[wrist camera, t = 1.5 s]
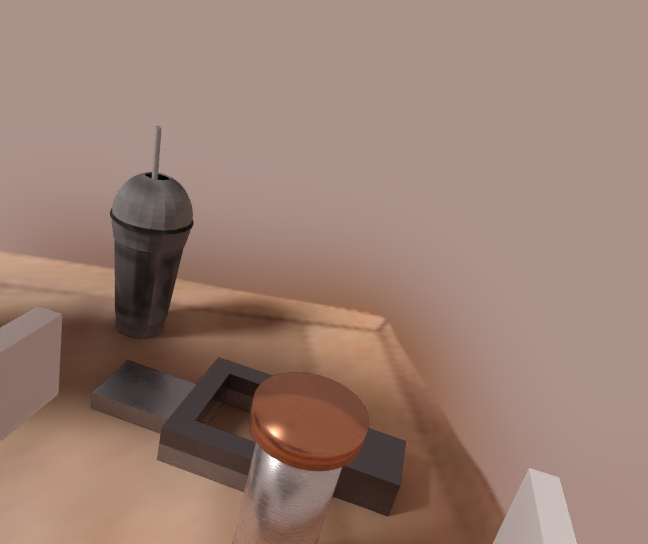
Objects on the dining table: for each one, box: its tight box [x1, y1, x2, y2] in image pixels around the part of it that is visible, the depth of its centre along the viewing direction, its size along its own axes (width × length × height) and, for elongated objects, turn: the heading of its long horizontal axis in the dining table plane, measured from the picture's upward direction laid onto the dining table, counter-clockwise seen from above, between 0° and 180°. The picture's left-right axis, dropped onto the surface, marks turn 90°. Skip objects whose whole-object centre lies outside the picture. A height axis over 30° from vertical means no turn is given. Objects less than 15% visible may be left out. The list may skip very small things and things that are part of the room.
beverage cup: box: [110, 126, 193, 338], centre depth 50 cm, size 7×7×20 cm
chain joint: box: [91, 357, 406, 516], centre depth 43 cm, size 24×10×3 cm, turn 76°
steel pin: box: [232, 372, 369, 544], centre depth 29 cm, size 6×6×14 cm
